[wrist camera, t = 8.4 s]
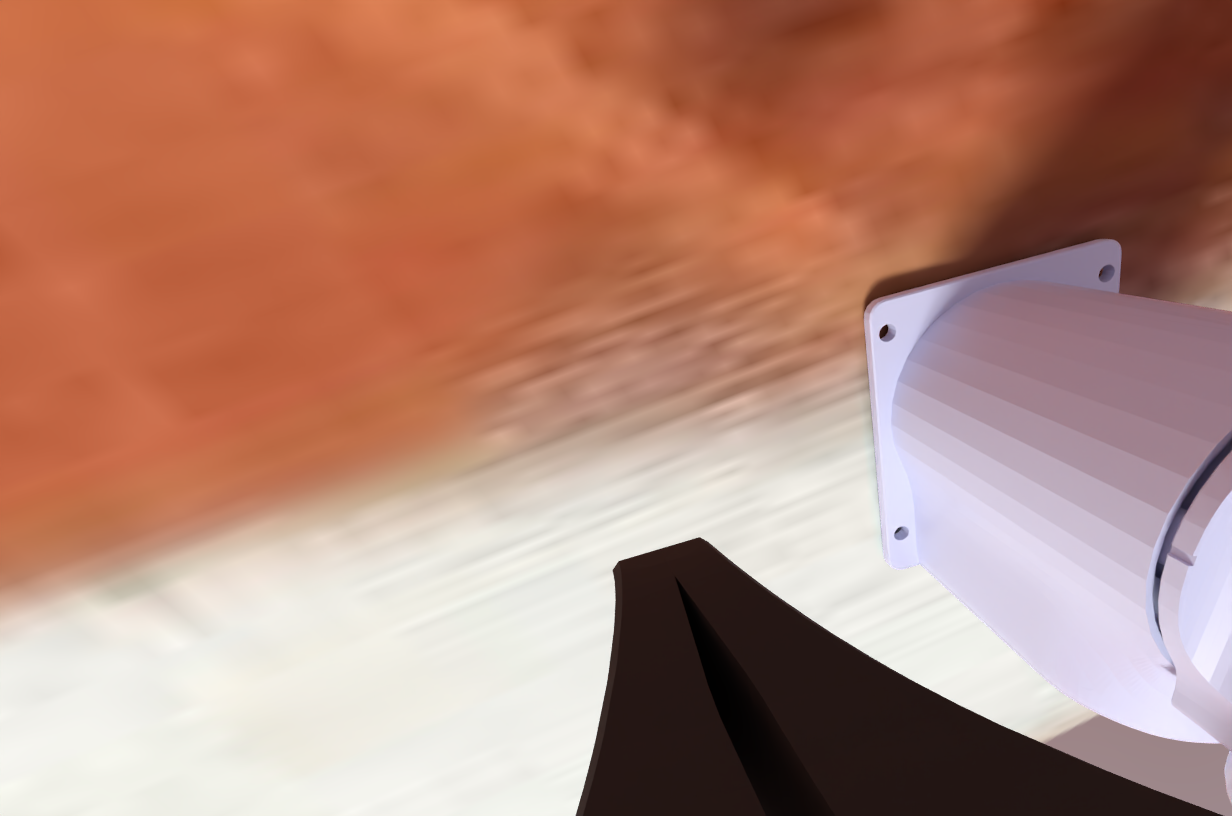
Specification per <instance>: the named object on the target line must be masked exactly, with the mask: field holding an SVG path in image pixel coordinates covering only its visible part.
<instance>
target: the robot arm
mask: <svg viewBox="0 0 1232 816" xmlns="http://www.w3.org/2000/svg"><path fill="white" fill-rule="evenodd" d="M1121 256H1122V251H1121V246H1120V244H1119V243H1118V242H1117V241H1115V240H1113V239H1097V240H1093V241H1089V242H1086V243H1082V244H1078V245H1074V246H1071V247H1067V248H1063V249H1059V250H1056V251H1052V252H1048V253H1044V254H1041V255H1037V256H1033V257H1029V258H1026V259H1022V260H1018V261H1014V262H1011V263H1007V264H1003V265H999V266H996V267H992V268H988V269H985V270H981V271H977V272H973V273H970V274H966V275H962V276H958V277H955V278H951V279H947V280H943V281H940V282H936V283H932V284H928V285H925V286H921V287H917V288H913V289H910V290H906V291H902V292H898V293H895V294H891V295H887V296H884V297H880V298H877V299H875V300H873V301H872V302H871V303H870V304H869V305H868V306H867V308H866V310H865V312H864V327H865V339H866V351H867V362H868V374H869V386H870V398H871V410H872V422H873V434H874V446H875V458H876V470H877V482H878V494H879V506H880V518H881V530H882V542H883V554H884V559H885V561H886V562H887V563H888V564H889V565H890V566H891V567H892V568H893V569H897V570H901V569H906V568H909V567H913V566H916V565H919V564H920V565H921V566H922V567H923V568H925V569H926V570H927V571H928V572H929V573H930V574H931V575H932V576H933V577H934V578H935V579H936V580H938V581H939V582H940V583H941V584H942V585H943V586H944V587H945V588H946V589H947V590H948V591H949V592H951V593H952V594H953V595H954V596H955V597H956V598H957V599H958V600H959V601H960V602H961V603H963V604H964V605H965V606H966V607H967V608H968V609H969V610H970V611H971V612H972V613H973V614H974V615H976V616H977V617H978V618H979V619H980V620H981V621H982V622H983V623H984V624H985V625H986V626H987V627H989V628H990V629H991V630H992V631H993V632H994V633H995V634H996V635H997V636H998V637H999V638H1000V639H1002V640H1003V641H1004V642H1005V643H1006V644H1007V645H1008V646H1009V647H1010V648H1011V649H1012V650H1013V651H1015V652H1016V653H1017V654H1018V655H1019V656H1020V657H1021V658H1022V659H1023V660H1024V661H1025V662H1026V663H1028V664H1029V665H1030V666H1031V667H1032V668H1033V669H1034V670H1035V671H1036V672H1037V673H1038V674H1039V675H1041V676H1042V677H1043V678H1044V679H1045V680H1046V681H1047V682H1049V683H1050V684H1051V685H1053V686H1054V687H1055V688H1056V689H1058V690H1059V691H1060V692H1062V693H1063V694H1065V695H1066V696H1068V697H1069V698H1071V699H1072V700H1074V701H1076V702H1077V703H1079V704H1080V705H1082V706H1084V707H1086V708H1088V709H1090V710H1092V711H1094V712H1096V713H1098V714H1100V715H1102V716H1105V717H1106V718H1109V719H1111V720H1113V721H1116V722H1118V723H1121V724H1123V725H1126V726H1128V727H1131V728H1133V729H1137V730H1139V731H1142V732H1146V733H1148V734H1152V735H1156V736H1160V737H1164V738H1169V739H1174V740H1179V741H1188V742H1198V743H1221V744H1222V745H1224V746H1225V747H1226V748H1227V749H1229V750H1230V751H1229V753H1228V757H1227V761H1226V765H1225V768H1224V771H1225V781H1226V790H1227V794H1228V797H1229V799H1230V802H1231V804H1232V312H1231V311H1225V310H1219V309H1212V308H1206V307H1200V306H1194V305H1188V304H1182V303H1176V302H1170V301H1164V300H1158V299H1151V298H1145V297H1139V296H1133V295H1127V294H1121V293H1119V284H1120V270H1121ZM1102 268H1103V272H1102V275H1101V276H1100V277H1099V272H1100V270H1101V269H1102ZM886 324H887V325H888V333H887V334H886V336H885V337H883V338H881V339H880V337H879V332H880V330H881V328H882V327H883V326H885V325H886ZM899 527H902V528H901V530H900V531H899V532H898V533H896V534H894V533H895V531H896V530H897V529H898V528H899ZM613 574H614V579H615V593H616V603H615V623H614V635H613V643H612V651H611V659H610V667H609V674H608V680H607V686H606V691H605V696H604V701H603V706H602V711H601V716H600V721H599V726H598V731H597V736H596V741H595V745H594V749H593V753H592V758H591V762H590V766H589V770H588V773H587V777H586V781H585V785H584V789H583V792H582V796H581V799H580V803H579V806H578V810H577V813H576V816H1223V815H1220V814H1217V813H1215V812H1212V811H1209V810H1206V809H1204V808H1201V807H1199V806H1196V805H1193V804H1190V803H1188V802H1185V801H1182V800H1180V799H1177V798H1175V797H1172V796H1169V795H1166V794H1164V793H1161V792H1158V791H1156V790H1153V789H1151V788H1148V787H1146V786H1143V785H1141V784H1138V783H1136V782H1133V781H1131V780H1128V779H1126V778H1123V777H1121V776H1118V775H1116V774H1113V773H1111V772H1108V771H1106V770H1103V769H1101V768H1099V767H1096V766H1094V765H1092V764H1089V763H1087V762H1085V761H1082V760H1080V759H1078V758H1076V757H1073V756H1071V755H1069V754H1066V753H1064V752H1062V751H1059V750H1057V749H1054V748H1052V747H1050V746H1047V745H1045V744H1043V743H1041V742H1038V741H1036V740H1034V739H1031V738H1029V737H1027V736H1024V735H1022V734H1020V733H1018V732H1015V731H1013V730H1011V729H1008V728H1006V727H1004V726H1001V725H999V724H997V723H995V722H993V721H991V720H989V719H987V718H985V717H983V716H981V715H978V714H976V713H974V712H972V711H970V710H968V709H966V708H964V707H962V706H960V705H958V704H956V703H954V702H952V701H950V700H948V699H946V698H944V697H942V696H941V695H939V694H937V693H935V692H933V691H931V690H929V689H927V688H925V687H923V686H921V685H919V684H918V683H916V682H914V681H912V680H910V679H908V678H907V677H905V676H903V675H901V674H899V673H898V672H896V671H894V670H892V669H890V668H889V667H887V666H885V665H884V664H882V663H880V662H878V661H877V660H875V659H873V658H871V657H870V656H868V655H866V654H865V653H863V652H862V651H860V650H858V649H857V648H855V647H853V646H852V645H850V644H849V643H847V642H845V641H844V640H842V639H840V638H839V637H837V636H835V635H834V634H832V633H831V632H829V631H828V630H826V629H825V628H823V627H822V626H820V625H819V624H817V623H815V622H814V621H812V620H811V619H810V618H808V617H807V616H805V615H804V614H802V613H801V612H799V611H798V610H797V609H795V608H794V607H792V606H791V605H789V604H788V603H786V602H785V601H783V600H782V599H781V598H779V597H778V596H776V595H775V594H774V593H772V592H771V591H769V590H768V589H767V588H765V587H764V586H763V585H761V584H760V583H759V582H757V581H756V580H755V579H753V578H752V577H751V576H749V575H748V574H747V573H746V572H744V571H743V570H742V569H740V568H739V567H738V566H737V565H735V564H734V563H733V562H732V561H730V560H729V559H728V558H727V557H725V556H724V555H723V554H722V553H721V552H719V551H718V550H717V549H716V548H715V547H713V546H712V545H711V544H710V543H709V542H707V541H705V540H704V539H702V538H700V537H699V538H696V539H692V540H689V541H685V542H682V543H679V544H675V545H672V546H669V547H665V548H662V549H658V550H655V551H652V552H648V553H645V554H642V555H638V556H635V557H632V558H628V559H625V560H621V561H619V562H618V563H617V565H616V566H615V568H614V569H613Z"/></svg>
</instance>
